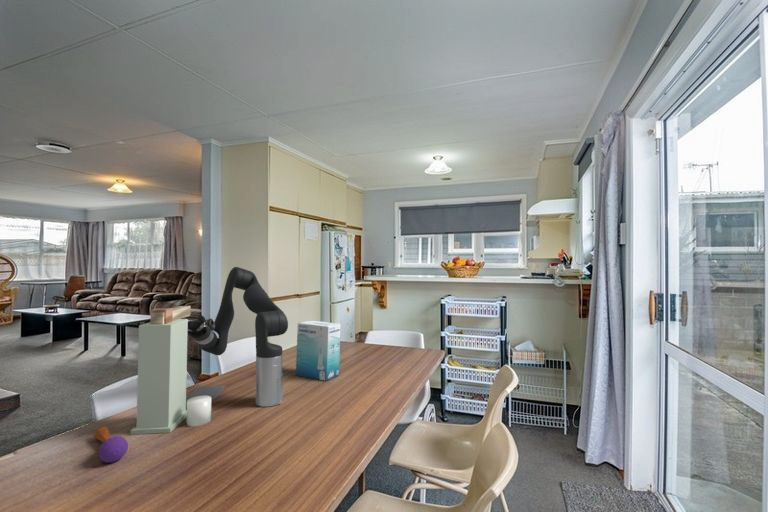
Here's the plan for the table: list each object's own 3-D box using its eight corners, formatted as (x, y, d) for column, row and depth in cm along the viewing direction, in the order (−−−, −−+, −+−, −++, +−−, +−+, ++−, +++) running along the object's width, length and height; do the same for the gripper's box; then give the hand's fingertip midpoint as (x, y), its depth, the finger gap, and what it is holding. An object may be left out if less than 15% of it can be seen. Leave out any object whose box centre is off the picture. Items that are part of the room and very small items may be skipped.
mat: (224, 387, 144) (224, 385, 144) (204, 409, 123) (204, 406, 123) (199, 388, 143) (199, 386, 143) (173, 410, 121) (173, 408, 121)
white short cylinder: (214, 416, 117) (214, 395, 117) (206, 425, 110) (206, 403, 110) (191, 417, 116) (192, 396, 116) (182, 427, 109) (183, 404, 109)
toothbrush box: (340, 375, 161) (340, 322, 162) (327, 381, 152) (327, 325, 153) (309, 370, 169) (310, 319, 170) (295, 376, 160) (296, 322, 161)
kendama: (116, 420, 105) (132, 437, 91) (111, 442, 103) (127, 463, 90) (91, 423, 100) (104, 441, 87) (85, 445, 99) (98, 468, 86)
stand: (190, 413, 119) (192, 318, 120) (170, 432, 105) (172, 325, 106) (155, 414, 118) (157, 319, 119) (130, 434, 104) (133, 325, 105)
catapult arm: (191, 315, 128) (192, 303, 128) (164, 324, 108) (164, 310, 108) (178, 315, 127) (179, 303, 127) (149, 324, 107) (149, 310, 107)
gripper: (185, 324, 144) (168, 308, 130) (221, 323, 145) (209, 307, 132) (180, 342, 140) (163, 327, 126) (218, 341, 141) (205, 326, 128)
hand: (186, 317), depth 129 cm, fingers open, 8 cm apart
